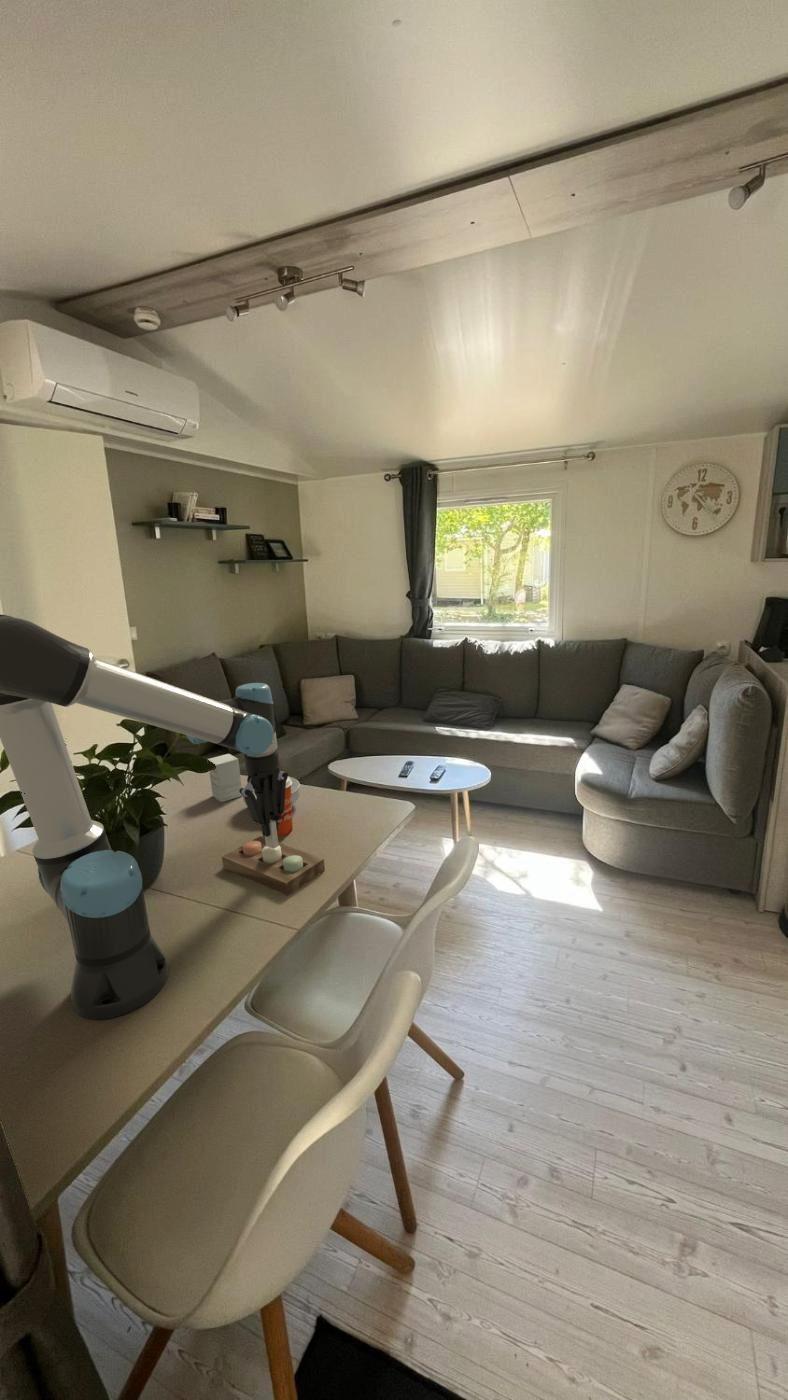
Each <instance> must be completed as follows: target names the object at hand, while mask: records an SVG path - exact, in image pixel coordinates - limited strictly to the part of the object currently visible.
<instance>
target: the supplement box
mask: <svg viewBox="0 0 788 1400" xmlns="http://www.w3.org/2000/svg"><path fill="white" fill-rule="evenodd" d="M208 760H209V761H210V762H212V763H213V764H215V766H216V769H215V770H213V771H210V772H209V771H208V772H209V777H210V778H209V779H210V786H211V793H212V797H214V798H215V799H216V800H217V801H219V802H220V803H225V802H226V801H230V800H232V799H236V798H239V797H243V796H242V794H241V793H240V792H239V790H240V789H241V788H243V786H242V779H241V770H240V763H239V758H237V757H236V756H234V755H232V754H230V753H226V754H222V755H218V756H215V757H210V758H207V761H208Z"/></svg>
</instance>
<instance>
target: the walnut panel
mask: <svg viewBox="0 0 788 1400" xmlns="http://www.w3.org/2000/svg"><path fill="white" fill-rule="evenodd" d="M251 841H259V842H261V847H262V849H263V848H264V847H265V846H266V842H265V836H264V837H263V836H258V837H256V838H254V839H252V840H251ZM278 845H279V846H280V847H281V854H282V860H280V861H278V862H277V863H275V864H273V865H269V864H267V863H264V862H263V856H262V852H260V853H258V854H257V855H255V856H253V857H249V856H246V855H244V854H243V845H241V846H238V848H236V849H234V850H232V851H230V852H228V853H226V854H224V855H223V856H221V860H222V865H223V869H225V870H228V871H230V872H231V873H234V874H236V875H239V876H241V877H244V878H246V879H248V880H250V881H253V882H255V883H258V884H260V885H262V886H264V887H267V888H270V889H271V890H273V891H276V892H278V893H281V894H283V895H285V896H289V895H291V894H292V893H294V892H295V891H297V890H298V889H299V888H301V887H302V886H304V885H305V883H306V884H307V883H308V882H310V881H312V880H313V879H314V878H316V877H317V876H319V875H320V874H321V872H322V871H323V872H324V870H326V867H325V859H324V858H323V857H319V856H316V855H314V854H311V853H309V852H306V851H303V850H300V849H299V848H298V849H297V848H294V847H292V846H289V845H286V844H283V843H280V842H278ZM293 855H297V856H301V857H302V860H303V868H302V869H300V870H299V871H297V872H295V873H294V874H292V873H290V872H287V871H285V870H284V866H283V860H284V859H285V858H287V857H289V856H293ZM323 872H322V873H323ZM319 873H320V874H319ZM318 874H319V875H318ZM315 876H316V877H315Z"/></svg>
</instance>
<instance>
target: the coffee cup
mask: <svg viewBox="0 0 788 1400" xmlns="http://www.w3.org/2000/svg"><path fill="white" fill-rule="evenodd" d="M289 777H290V776H289V775H288V778H287V781H286V788H285V802H284V812H283V814H280V815H279V816H280V817H281V818H280V820H278V831H277V837H283V836H287V835H289V834H291V833H292V832H293V805H292V794H291V785H292V781H291V780H290V778H289ZM278 808H279V807H278Z"/></svg>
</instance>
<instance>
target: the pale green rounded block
mask: <svg viewBox="0 0 788 1400" xmlns="http://www.w3.org/2000/svg"><path fill="white" fill-rule="evenodd" d="M283 866H284V870H285V871H287V872H290V873H292V874H294V873H295V872H297V871H299V870H300V869H302V868H303V860H302V857H301V856H297V855H293V856H289V857H287V858H285V859H284V860H283Z"/></svg>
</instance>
